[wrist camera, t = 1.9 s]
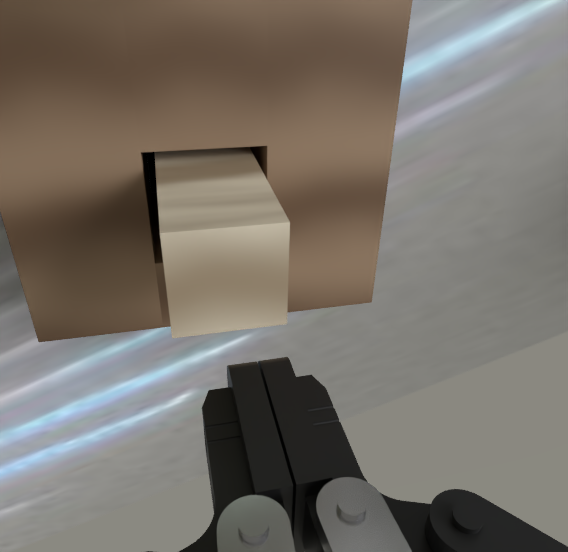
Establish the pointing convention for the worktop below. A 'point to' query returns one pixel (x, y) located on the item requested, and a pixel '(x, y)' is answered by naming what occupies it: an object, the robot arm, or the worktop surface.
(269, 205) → the birch peg
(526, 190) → the worktop surface
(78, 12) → the walnut block
